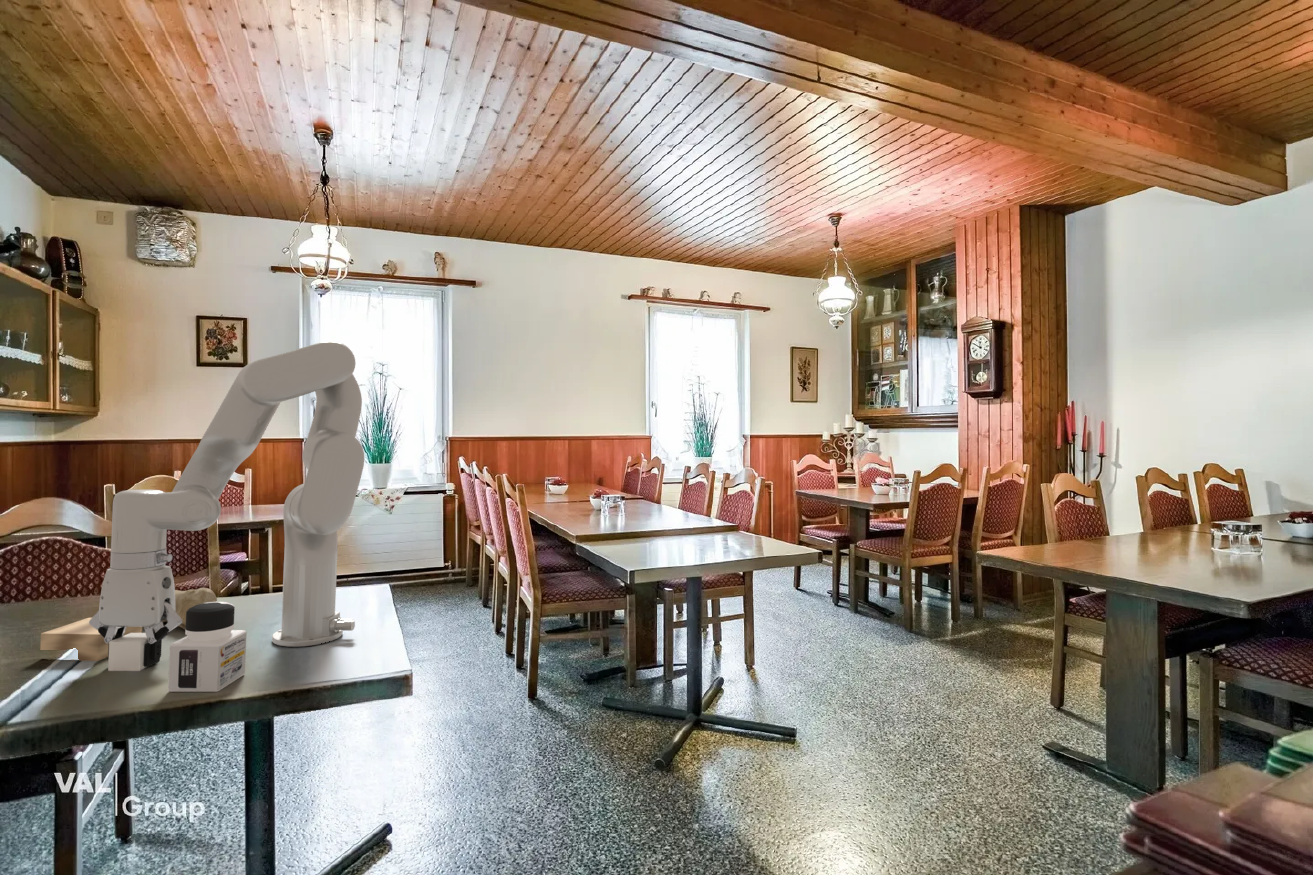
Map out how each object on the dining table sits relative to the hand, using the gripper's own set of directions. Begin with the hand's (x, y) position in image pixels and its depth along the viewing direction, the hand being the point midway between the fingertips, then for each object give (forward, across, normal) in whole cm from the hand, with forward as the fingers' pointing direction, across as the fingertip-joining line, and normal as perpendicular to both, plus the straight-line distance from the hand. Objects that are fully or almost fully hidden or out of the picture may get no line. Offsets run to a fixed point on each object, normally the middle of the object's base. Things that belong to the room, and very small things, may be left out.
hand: (134, 662), depth 110 cm
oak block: (+1, +12, -8) cm, 15 cm away
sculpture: (+1, +9, -24) cm, 26 cm away
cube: (+1, 0, 0) cm, 1 cm away
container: (+1, -17, +8) cm, 19 cm away
